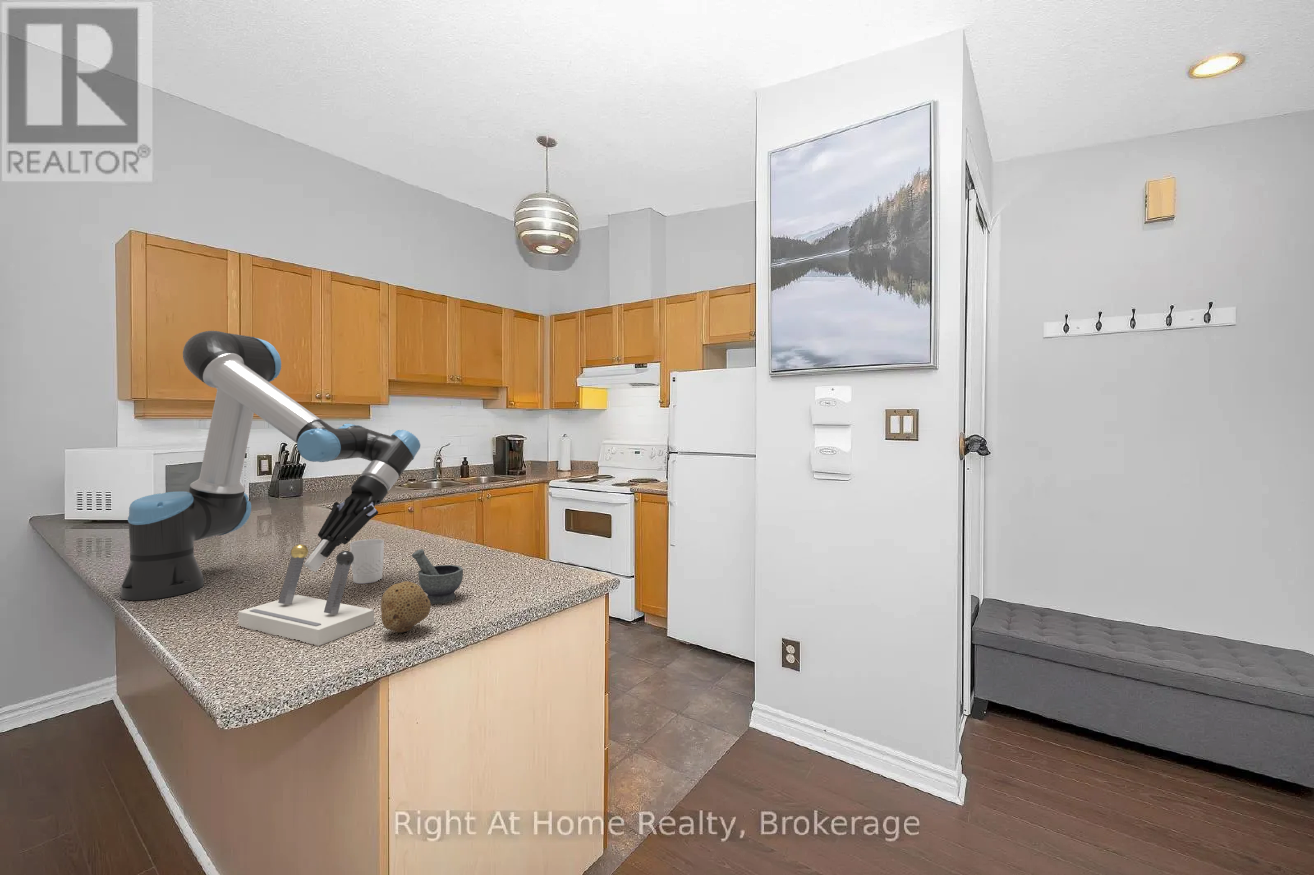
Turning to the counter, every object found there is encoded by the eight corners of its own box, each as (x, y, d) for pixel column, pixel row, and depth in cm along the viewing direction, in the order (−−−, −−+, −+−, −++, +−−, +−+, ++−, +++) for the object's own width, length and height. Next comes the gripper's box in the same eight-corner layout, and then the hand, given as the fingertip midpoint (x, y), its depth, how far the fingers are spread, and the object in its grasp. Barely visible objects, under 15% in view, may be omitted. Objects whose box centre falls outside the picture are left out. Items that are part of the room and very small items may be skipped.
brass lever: (287, 602, 119) (303, 544, 122) (297, 604, 118) (313, 545, 121) (272, 602, 116) (289, 542, 120) (282, 604, 115) (299, 544, 118)
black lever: (332, 612, 114) (348, 550, 117) (343, 614, 112) (359, 552, 116) (318, 611, 111) (334, 549, 114) (329, 614, 110) (345, 550, 113)
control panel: (296, 607, 125) (296, 593, 125) (374, 624, 115) (373, 608, 115) (238, 626, 114) (238, 610, 114) (318, 646, 104) (318, 628, 104)
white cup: (390, 576, 150) (390, 539, 149) (372, 585, 142) (372, 546, 142) (362, 575, 151) (362, 538, 150) (343, 584, 143) (343, 545, 142)
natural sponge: (435, 622, 116) (434, 575, 116) (424, 639, 108) (424, 587, 107) (388, 625, 115) (388, 576, 115) (373, 642, 106) (373, 590, 106)
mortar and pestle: (465, 592, 137) (465, 543, 136) (460, 604, 128) (459, 552, 127) (416, 594, 135) (416, 545, 134) (407, 607, 125) (406, 554, 125)
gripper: (403, 494, 137) (341, 580, 122) (365, 491, 142) (302, 573, 127) (384, 475, 132) (318, 562, 117) (345, 472, 137) (277, 555, 122)
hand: (309, 568), depth 122 cm, fingers closed
